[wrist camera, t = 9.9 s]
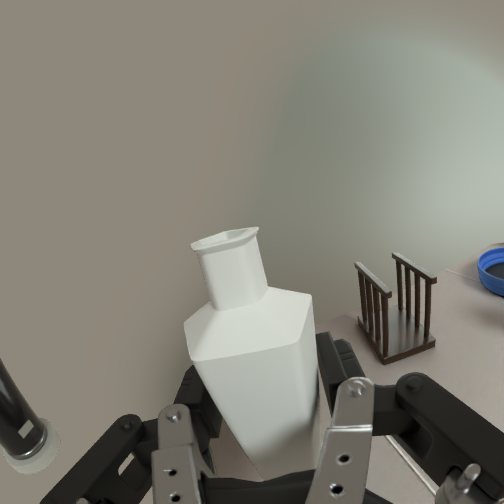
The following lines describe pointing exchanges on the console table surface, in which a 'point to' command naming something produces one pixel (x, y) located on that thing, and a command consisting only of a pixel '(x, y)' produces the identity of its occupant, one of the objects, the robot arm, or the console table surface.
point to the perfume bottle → (257, 356)
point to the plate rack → (395, 313)
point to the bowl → (492, 270)
